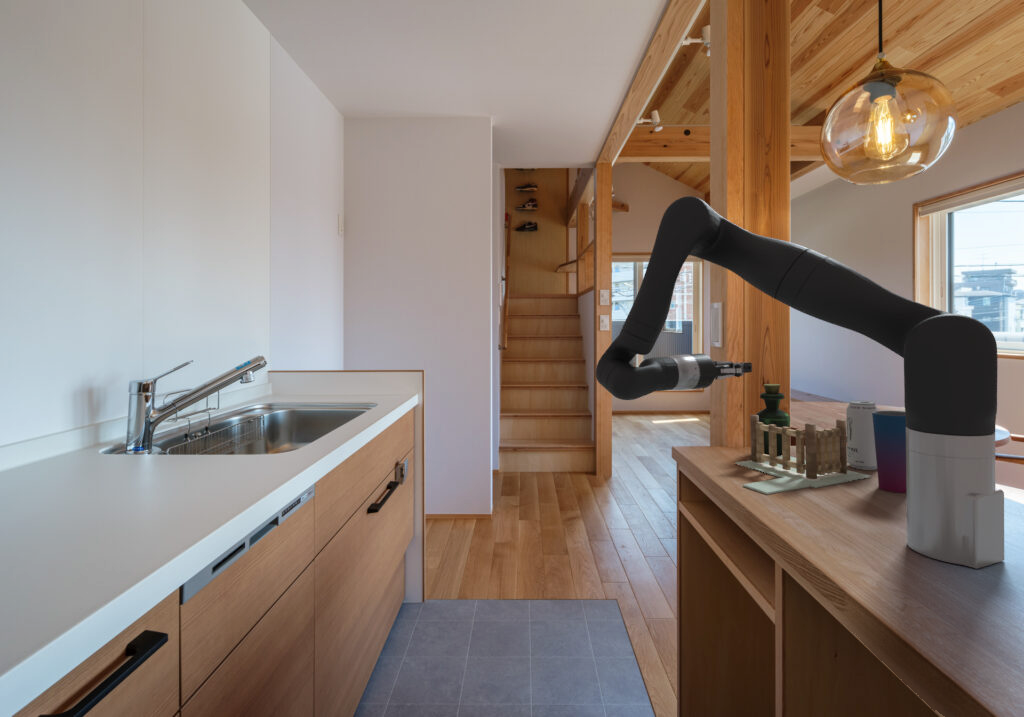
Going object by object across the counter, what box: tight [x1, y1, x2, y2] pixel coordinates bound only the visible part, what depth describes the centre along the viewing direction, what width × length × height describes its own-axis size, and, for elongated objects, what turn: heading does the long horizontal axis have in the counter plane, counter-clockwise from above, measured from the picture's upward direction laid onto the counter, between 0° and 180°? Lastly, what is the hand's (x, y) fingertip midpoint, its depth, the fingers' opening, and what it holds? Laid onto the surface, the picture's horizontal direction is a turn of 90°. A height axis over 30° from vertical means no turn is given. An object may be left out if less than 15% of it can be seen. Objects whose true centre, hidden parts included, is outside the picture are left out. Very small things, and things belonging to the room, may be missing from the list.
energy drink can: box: [845, 400, 880, 471], centre depth 110 cm, size 6×6×15 cm
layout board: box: [735, 455, 871, 495], centre depth 108 cm, size 21×28×1 cm
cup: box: [872, 410, 906, 494], centre depth 94 cm, size 7×7×15 cm
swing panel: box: [749, 414, 806, 474], centre depth 110 cm, size 14×2×11 cm, turn 20°
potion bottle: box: [755, 383, 791, 456], centre depth 126 cm, size 8×8×18 cm
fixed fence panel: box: [804, 418, 848, 479], centre depth 103 cm, size 2×11×12 cm, turn 109°
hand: (749, 367), depth 108 cm, fingers closed
